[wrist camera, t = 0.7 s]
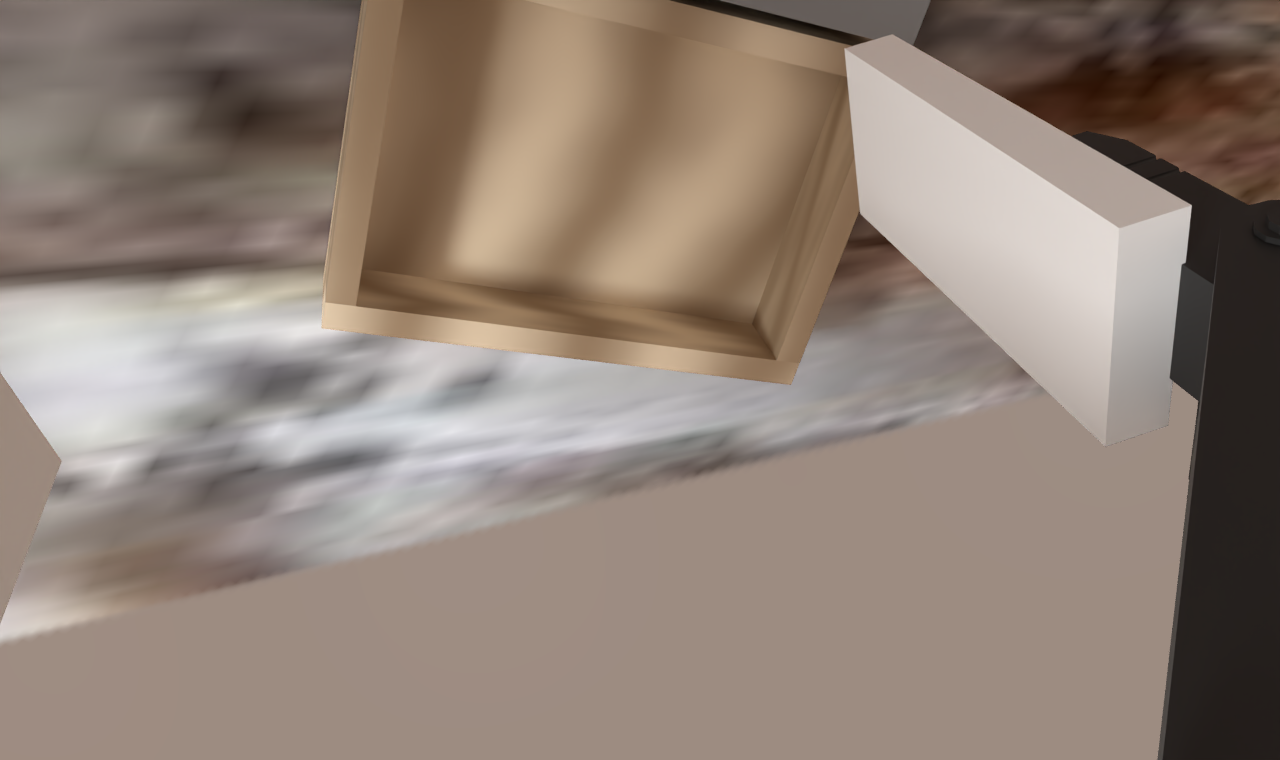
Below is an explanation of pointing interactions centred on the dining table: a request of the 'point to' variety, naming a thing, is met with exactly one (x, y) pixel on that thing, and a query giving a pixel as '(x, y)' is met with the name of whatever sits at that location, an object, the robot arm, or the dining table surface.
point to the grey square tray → (851, 15)
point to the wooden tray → (594, 181)
